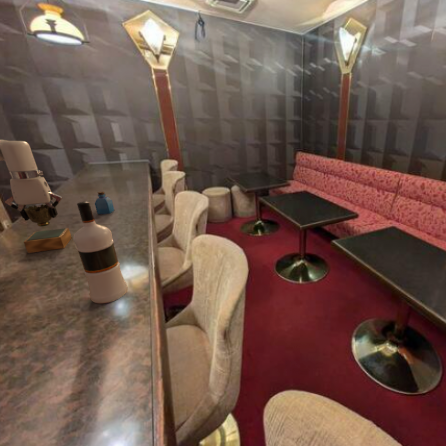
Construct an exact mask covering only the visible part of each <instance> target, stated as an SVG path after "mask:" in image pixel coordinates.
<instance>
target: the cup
mask: <svg viewBox="0 0 446 446" xmlns="http://www.w3.org/2000/svg"><path fill="white" fill-rule="evenodd" d="M49 209H50V207H49V206H48V205H46V204H40V206H37V205H36V204H33V206H31V205H29V206H28V207H25V209H24V210H25V212H26V214H27V215H28V217H29V220H30V221H31V222H32V223H33V224H34V223H35V224H36V226H38V227H48V226H49V225H51V224H50V223H51V222H50V221H51V220H52V219H53V218H52V216H51V214H50V211H49Z"/></svg>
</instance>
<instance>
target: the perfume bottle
mask: <svg viewBox="0 0 446 446" xmlns="http://www.w3.org/2000/svg"><path fill="white" fill-rule="evenodd" d="M97 197H98V198H96V199H95V202H94V207H95V209H96V213H97V215H107V214H108V215H109V214H111V213H113V212H114V211H115V208H114V204H113V200H112V199H111V198H110V197H109V196H106V193H105V191H97Z"/></svg>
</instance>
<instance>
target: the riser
mask: <svg viewBox="0 0 446 446" xmlns="http://www.w3.org/2000/svg"><path fill="white" fill-rule="evenodd" d="M72 239H73V237H72V235H71V231H70V228H69V227H65V228H57V229H56V228H55V229H47V230H39V231H34V232H33V233H32V234H31V235H29V237H27V238H26V239H25V240H24V241H23V244H24V247H25V249H26V252H27V254H33V253H39V252H46V251H53V250H60V249H61V250H62V249H65V248H66V246H67V245H68V244H69V243H70V241H71V240H72Z"/></svg>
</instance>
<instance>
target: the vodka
mask: <svg viewBox="0 0 446 446" xmlns="http://www.w3.org/2000/svg"><path fill="white" fill-rule="evenodd" d="M76 205H77V209H78V212H79V215H80V220H81V222H82V225H83V226H81V227H80V228H79V229H78V230H76V231H75V232H74V233H73V237H72V241H73V243H74V245H75V249H76V250H77V253H78V255H79V258H80V261H81V264H82V267H83V269H84V270H83V274H84V275H85V277H86V280H87V284H88V289H89V299H90V300H91V301H92V302H93V303H94V304H108V303H111V302H115V301H117V300H118V299H121V298H122V297H123V296H124V295H126V293H127V292H128V290H129V287H128V283H127V281H125V278H124V275H123V272H122V270H121V263H120V262H119V259H118V256H117V255H118V254H117V252H116V248H115V244H114V239H113V234H112V231H111V229H110V228H109V227H107V226H105V225H102V224H97V223H96V220H95V217H94V213H93V210H92V208H91V204H90V202H89V201H80V202H77V203H76Z"/></svg>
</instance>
